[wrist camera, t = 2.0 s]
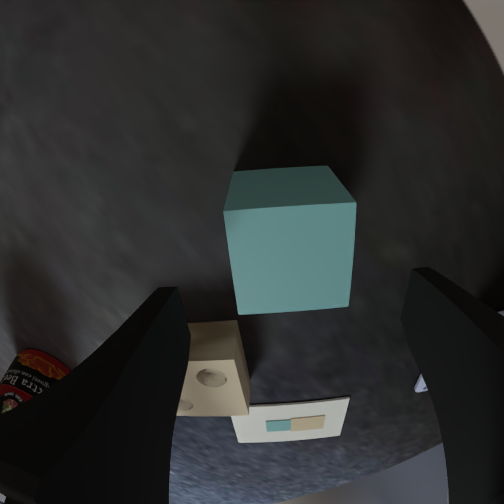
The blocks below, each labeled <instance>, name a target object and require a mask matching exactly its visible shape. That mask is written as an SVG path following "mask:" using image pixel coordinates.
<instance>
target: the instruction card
mask: <svg viewBox="0 0 504 504" xmlns="http://www.w3.org/2000/svg"><path fill="white" fill-rule="evenodd" d="M349 399H350V398H349V397H342V398H335V399H326V400H317V401H307V402H295V403H282V404H264V405H249V415H243V416H231V418H232V421H233V425H234V428H235V432H236V435H237V438H238V442H239V443H252V442H277V441H292V440H304V439H314V438H323V437H331V436H339V435H340V433H341V429H342V426H343V422H344V418H345V415H346V411H347V407H348V403H349Z"/></svg>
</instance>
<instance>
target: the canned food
mask: <svg viewBox="0 0 504 504" xmlns="http://www.w3.org/2000/svg"><path fill="white" fill-rule="evenodd" d="M69 372H70V370H69V369H68V368H67V367H66V366H65V365H64V364H62V363H61V362H60V361H58V360H57V359H55V358H54V357H52V356H50V355H48V354H46V353H44V352H42V351H39V350H34V349H26V350H23V351H22V352H21V353H20V354H18V355H17V356H16V357H15V359H14V360H13V362H12V364H11V365H10V367H9V368H8V370H7V372H6V373H5V375H4V377H3V378H2V380H1V382H0V414H2V413H5V412H7V411H9V410H11V409H13V408H15V407H16V406H18V405H20V404H22V403H24V402H26V401H27V400H29V399H31V398H32V397H34V396H36V395H37V394H39V393H41V392H42V391H43V390H45V389H46V388H48V387H49V386H51V385H52V384H54V383H55V382H57V381H58V380H60V379H61V378H62V377H64V376H65V375H67V374H68V373H69Z"/></svg>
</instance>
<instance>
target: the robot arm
mask: <svg viewBox="0 0 504 504" xmlns="http://www.w3.org/2000/svg"><path fill="white" fill-rule="evenodd" d="M401 322H402V325H403V328H404V332H405V335H406V338H407V342H408V345H409V347H410V349H411V352H412V354H413V356H414V359H415V361H416V363H417V366H418V368H419V370H420V372H421V374H420V376H419V379H418V381H417V383H416V385H415V391H416V392H422V391H426V390H428V391H429V394H430V396H431V399H432V402H433V404H434V407H435V411H436V414H437V418H438V422H439V427H440V431H441V436H442V441H443V446H444V452H445V458H446V466H447V476H448V493H447V498H448V499H447V500H448V504H504V311H501V312H497V311H495V310H493V309H492V308H490V307H489V306H487V305H486V304H484V303H483V302H481V301H480V300H478V299H477V298H475V297H474V296H473V295H471V294H470V293H468V292H467V291H465V290H464V289H462V288H461V287H459V286H458V285H456V284H455V283H453V282H452V281H451V280H449V279H448V278H446V277H444V276H443V275H441V274H440V273H438V272H436V271H435V270H433V269H431V268H429V267H423V268H414V269H412V270H411V275H410V280H409V285H408V289H407V294H406V298H405V303H404V307H403V311H402V315H401ZM190 342H191V334H190V330H189V327H188V324H187V320H186V317H185V313H184V309H183V306H182V302H181V299H180V295H179V291H178V287H161V288H158V289H157V290H156V291H154V292H153V293H152V294H151V295H150V296H149V297H148V298H147V300H146V301H145V302H144V303H143V304H142V305H141V306H140V307H139V308H138V309H137V310H136V311H135V312H134V313H133V314H132V315H131V316H130V317H129V318H128V319H127V320H126V321H125V322H124V323H123V324H122V325H121V327H120V328H119V329H118V330H117V331H116V332H114V333H113V334H112V335H111V336H110V337H109V338H108V339H107V340H106V341H105V342H104V343H103V344H102V345H101V346H100V347H99V348H98V349H97V350H96V351H94V352H93V353H92V354H91V355H90V356H89V357H88V358H86V359H85V360H84V361H83V362H82V363H80V364H79V365H78V366H77V367H75V368H74V369H73V370H72V371H70V372H69V373H68V374H67V375H65V376H64V377H62V378H61V379H60V380H58V381H57V382H55V383H54V384H52V385H51V386H49V387H48V388H46V389H45V390H43V391H42V392H41V393H39V394H37V395H36V396H34V397H32V398H31V399H29V400H27V401H26V402H24V403H22V404H20V405H18V406H16V407H15V408H13V409H11V410H9V411H7V412H5V413H2V414H0V493H1V494H3V495H5V496H6V499H5V502H4V503H3V502H1V501H0V504H169V474H170V458H171V446H172V436H173V430H174V424H175V419H176V415H177V411H178V406H179V402H180V398H181V393H182V389H183V385H184V380H185V376H186V372H187V367H188V361H189V353H190Z"/></svg>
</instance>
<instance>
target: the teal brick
mask: <svg viewBox="0 0 504 504" xmlns="http://www.w3.org/2000/svg"><path fill="white" fill-rule="evenodd" d="M223 213H224V220H225V227H226V234H227V241H228V248H229V255H230V262H231V269H232V276H233V283H234V289H235V296H236V302H237V309H238V315H244V314H262V313H277V312H291V311H304V310H316V309H327V308H337V307H348V305H349V296H350V286H351V276H352V264H353V252H354V238H355V221H356V201H355V200H354V199H353V197H352V196H351V195H350V193H349V192H348V191H347V190H346V188H345V187H344V186H343V184H342V183H341V182H340V181H339V179H338V178H337V177H336V176H335V174H334V173H333V172H332V171H331V169H330V168H329V167H328V166H307V167H289V168H273V169H260V170H247V171H236V172H233V175H232V179H231V183H230V187H229V191H228V195H227V199H226V203H225V206H224V210H223Z"/></svg>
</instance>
